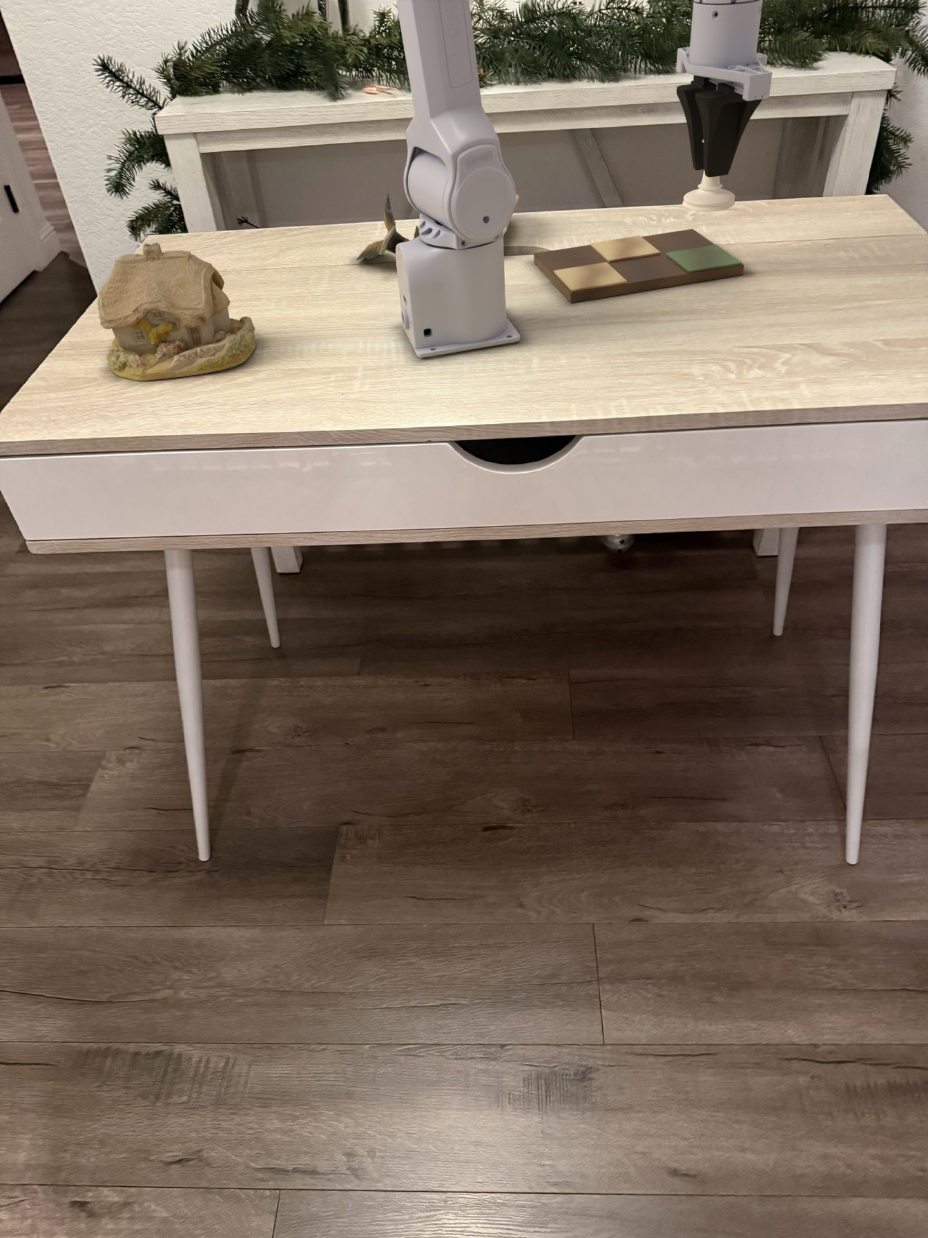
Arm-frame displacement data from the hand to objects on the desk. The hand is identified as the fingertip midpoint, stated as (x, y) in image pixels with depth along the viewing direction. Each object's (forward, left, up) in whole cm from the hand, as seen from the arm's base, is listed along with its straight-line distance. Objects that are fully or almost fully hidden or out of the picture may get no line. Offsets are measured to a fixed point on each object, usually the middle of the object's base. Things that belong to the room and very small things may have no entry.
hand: (710, 171), depth 87 cm
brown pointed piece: (-29, +15, -10) cm, 34 cm away
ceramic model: (-52, 0, -10) cm, 53 cm away
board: (-6, +3, -9) cm, 11 cm away
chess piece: (0, 0, -3) cm, 3 cm away
